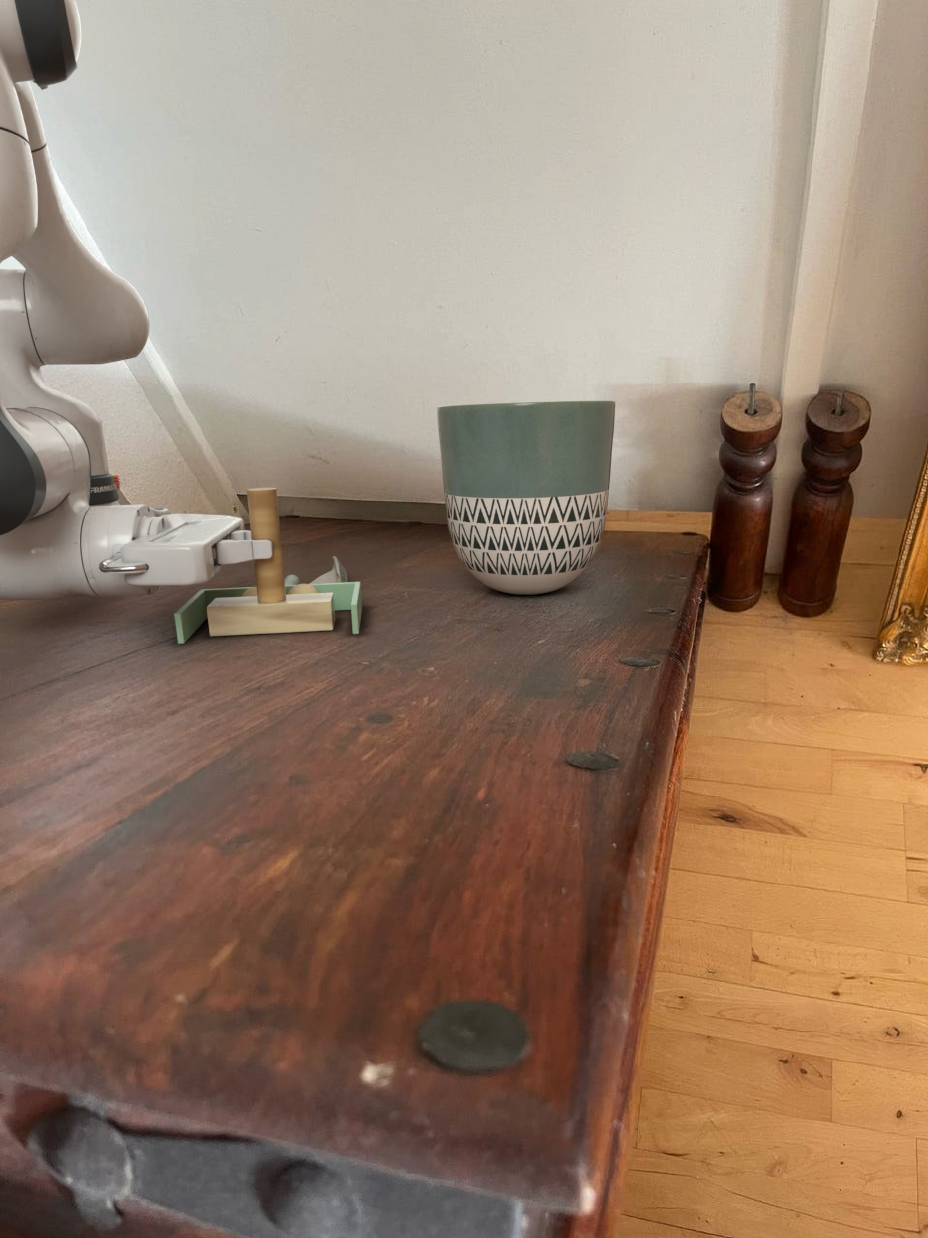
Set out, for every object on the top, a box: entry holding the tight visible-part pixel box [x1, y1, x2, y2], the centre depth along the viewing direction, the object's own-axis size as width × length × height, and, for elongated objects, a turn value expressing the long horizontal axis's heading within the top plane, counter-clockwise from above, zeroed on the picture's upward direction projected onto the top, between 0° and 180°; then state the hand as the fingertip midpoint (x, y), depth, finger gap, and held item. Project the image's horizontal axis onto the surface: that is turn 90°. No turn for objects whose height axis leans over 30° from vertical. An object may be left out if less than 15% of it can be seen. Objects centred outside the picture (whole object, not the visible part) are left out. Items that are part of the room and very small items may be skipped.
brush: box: [207, 487, 337, 637], centre depth 74 cm, size 4×12×14 cm, turn 96°
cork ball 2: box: [288, 583, 319, 595], centre depth 79 cm, size 4×4×4 cm
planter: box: [436, 400, 616, 596], centre depth 86 cm, size 20×20×21 cm
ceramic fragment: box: [309, 555, 348, 584], centre depth 92 cm, size 14×5×4 cm, turn 12°
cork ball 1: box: [242, 586, 257, 597], centre depth 79 cm, size 4×4×4 cm
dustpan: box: [173, 574, 363, 645], centre depth 81 cm, size 20×17×3 cm
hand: (276, 544), depth 74 cm, fingers closed on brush, 3 cm apart
